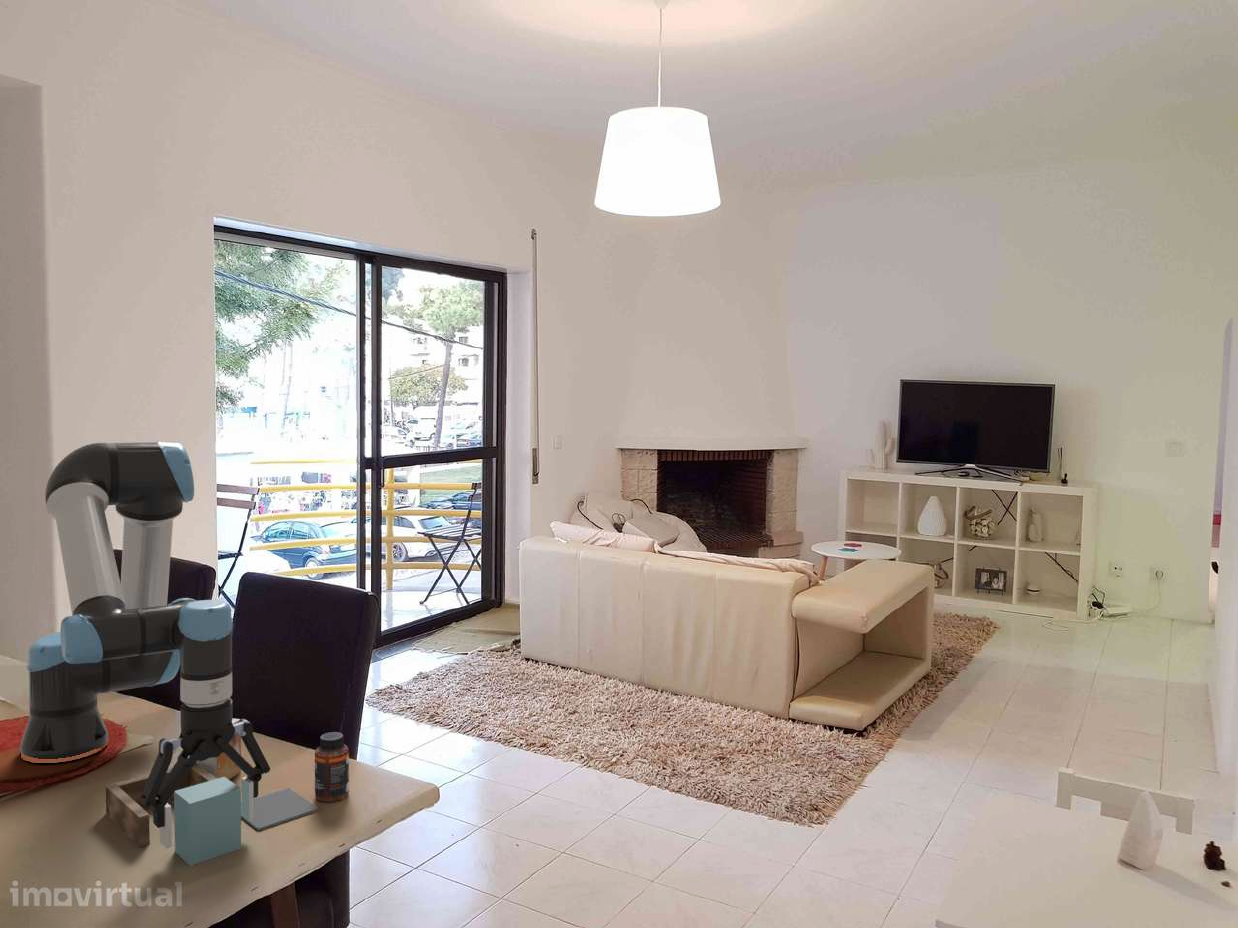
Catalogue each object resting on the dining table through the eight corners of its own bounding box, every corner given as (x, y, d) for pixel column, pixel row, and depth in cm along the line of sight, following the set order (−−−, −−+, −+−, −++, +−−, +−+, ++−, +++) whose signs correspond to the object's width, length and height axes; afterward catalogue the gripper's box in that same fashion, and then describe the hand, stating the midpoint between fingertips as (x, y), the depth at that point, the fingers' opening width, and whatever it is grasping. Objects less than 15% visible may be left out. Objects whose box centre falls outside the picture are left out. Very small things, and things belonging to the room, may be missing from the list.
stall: (106, 813, 160) (105, 785, 160) (195, 788, 171) (194, 761, 171) (139, 846, 150) (139, 816, 149) (232, 817, 160) (232, 789, 160)
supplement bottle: (356, 793, 171) (356, 733, 170) (333, 806, 166) (333, 744, 165) (330, 786, 174) (330, 727, 172) (307, 798, 168) (307, 738, 167)
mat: (229, 808, 163) (229, 806, 163) (288, 789, 171) (288, 787, 171) (258, 830, 156) (258, 828, 156) (318, 810, 164) (318, 807, 164)
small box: (216, 789, 171) (215, 733, 170) (189, 786, 172) (188, 730, 171) (242, 771, 179) (242, 718, 178) (216, 768, 180) (215, 715, 179)
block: (174, 851, 149) (174, 791, 148) (224, 834, 154) (224, 776, 153) (190, 865, 144) (189, 803, 144) (241, 848, 150) (240, 788, 149)
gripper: (132, 725, 136) (135, 866, 138) (291, 688, 154) (291, 814, 155) (114, 711, 141) (117, 848, 143) (269, 677, 159) (270, 799, 161)
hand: (207, 830), depth 149 cm, fingers open, 12 cm apart
